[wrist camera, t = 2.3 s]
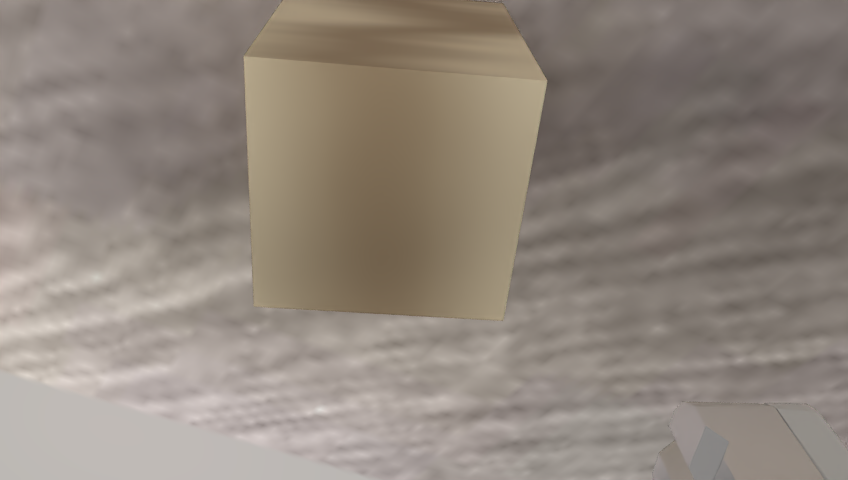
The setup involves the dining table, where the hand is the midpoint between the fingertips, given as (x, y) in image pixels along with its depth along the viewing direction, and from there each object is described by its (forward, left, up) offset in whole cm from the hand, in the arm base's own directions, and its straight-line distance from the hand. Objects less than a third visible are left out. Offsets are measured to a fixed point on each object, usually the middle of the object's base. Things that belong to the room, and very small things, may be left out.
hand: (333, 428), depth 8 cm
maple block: (-1, 0, -11) cm, 11 cm away
